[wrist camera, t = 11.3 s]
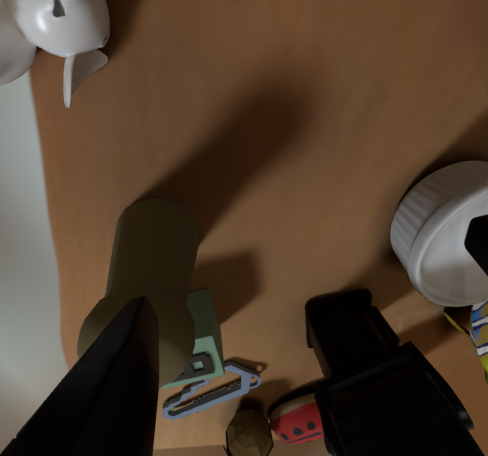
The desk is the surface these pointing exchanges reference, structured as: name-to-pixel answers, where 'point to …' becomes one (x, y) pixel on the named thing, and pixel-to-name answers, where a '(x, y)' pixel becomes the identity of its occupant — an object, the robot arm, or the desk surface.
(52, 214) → the desk surface
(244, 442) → the grenade
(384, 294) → the desk surface
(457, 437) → the robot arm
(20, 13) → the elephant figurine
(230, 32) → the desk surface
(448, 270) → the ramekin
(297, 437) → the ladybug figurine
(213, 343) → the letter block
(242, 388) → the key tool
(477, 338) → the fish toy
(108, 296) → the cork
